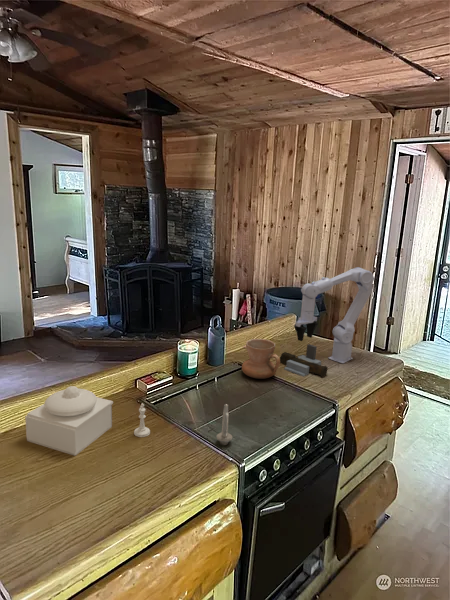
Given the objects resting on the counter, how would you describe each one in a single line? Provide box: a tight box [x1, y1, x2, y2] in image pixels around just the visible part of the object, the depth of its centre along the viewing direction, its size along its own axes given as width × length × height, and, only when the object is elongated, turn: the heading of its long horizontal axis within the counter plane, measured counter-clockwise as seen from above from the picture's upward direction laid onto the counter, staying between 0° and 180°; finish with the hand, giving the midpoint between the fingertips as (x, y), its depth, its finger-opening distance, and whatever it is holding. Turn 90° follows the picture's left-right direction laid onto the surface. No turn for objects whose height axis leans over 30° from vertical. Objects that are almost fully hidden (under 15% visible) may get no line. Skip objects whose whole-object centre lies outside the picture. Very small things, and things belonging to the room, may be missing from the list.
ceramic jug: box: [241, 338, 281, 380], centre depth 182 cm, size 18×14×14 cm
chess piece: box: [133, 403, 151, 438], centre depth 135 cm, size 5×5×10 cm
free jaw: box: [296, 343, 322, 366], centre depth 195 cm, size 4×10×10 cm, turn 47°
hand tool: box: [279, 351, 329, 378], centre depth 193 cm, size 23×5×6 cm, turn 48°
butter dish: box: [24, 385, 114, 456], centre depth 132 cm, size 18×18×16 cm
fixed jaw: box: [283, 360, 310, 377], centre depth 189 cm, size 4×10×4 cm, turn 47°
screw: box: [216, 403, 233, 446], centre depth 132 cm, size 13×5×5 cm
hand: (304, 338), depth 201 cm, fingers open, 7 cm apart
